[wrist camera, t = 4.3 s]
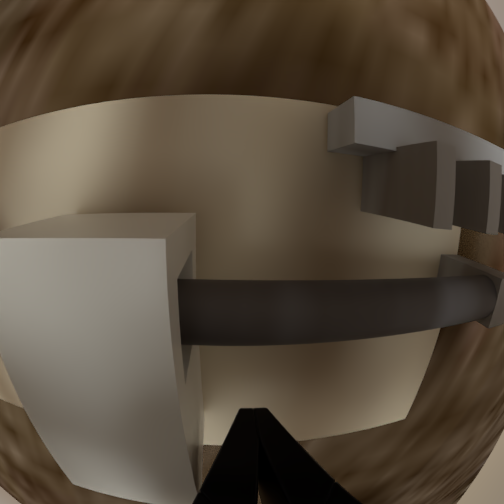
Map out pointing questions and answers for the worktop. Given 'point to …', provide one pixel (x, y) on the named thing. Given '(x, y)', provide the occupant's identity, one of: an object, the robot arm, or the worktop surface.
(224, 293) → the cable comb
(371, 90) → the worktop surface
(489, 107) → the worktop surface
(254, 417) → the robot arm
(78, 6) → the worktop surface
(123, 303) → the sleeve
